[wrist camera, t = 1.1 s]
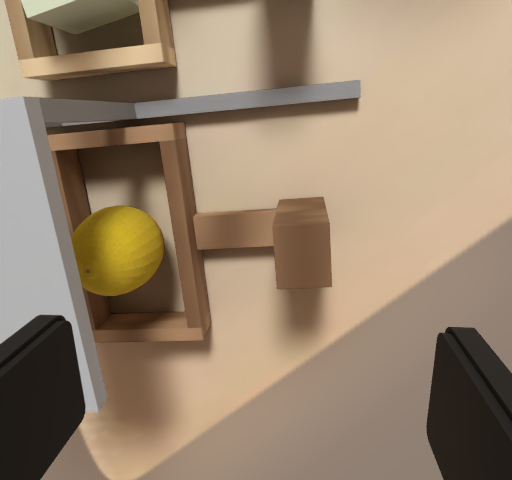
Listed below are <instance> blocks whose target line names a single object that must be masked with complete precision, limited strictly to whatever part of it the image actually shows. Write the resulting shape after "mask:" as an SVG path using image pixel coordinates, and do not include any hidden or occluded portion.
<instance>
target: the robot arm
mask: <svg viewBox="0 0 512 480" xmlns="http://www.w3.org/2000/svg"><path fill="white" fill-rule="evenodd" d="M85 409H86V406H85V400H84V394H83V388H82V382H81V376H80V370H79V365H78V359H77V353H76V347H75V341H74V335H73V330H72V325H71V323H70V322H69V321H66V319H65V317H64V316H62V315H38V316H36V317H35V318H34V319H32V320H31V321H30V322H28V323H27V324H26V325H24V326H23V327H22V328H21V329H19V330H18V331H17V332H15V333H14V334H13V335H11V336H10V337H9V338H7V339H6V340H5V341H4V342H2V343H1V344H0V480H40V479H41V478H42V476H43V475H44V474H45V472H46V471H47V469H48V468H49V466H50V465H51V464H52V462H53V461H54V460H55V458H56V457H57V455H58V454H59V452H60V451H61V450H62V448H63V447H64V445H65V444H66V443H67V441H68V440H69V438H70V437H71V436H72V434H73V433H74V431H75V430H76V428H77V427H78V426H79V424H80V423H81V422H82V420H83V418H84V415H85ZM427 436H428V440H429V443H430V446H431V448H432V451H433V454H434V456H435V459H436V461H437V464H438V466H439V469H440V471H441V474H442V477H443V479H444V480H512V373H511V372H510V371H509V370H508V368H507V367H506V366H505V365H504V363H503V362H502V361H501V360H500V359H499V357H498V356H497V355H496V354H495V352H494V351H493V350H492V349H491V348H490V346H489V345H488V344H487V343H486V341H485V340H484V339H483V338H482V336H481V335H480V334H479V333H478V332H477V330H476V329H475V328H463V327H448V328H447V329H446V331H445V333H439V334H438V337H437V343H436V351H435V360H434V368H433V377H432V384H431V393H430V401H429V409H428V418H427Z"/></svg>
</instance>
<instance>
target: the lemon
mask: <svg viewBox="0 0 512 480" xmlns="http://www.w3.org/2000/svg"><path fill="white" fill-rule="evenodd" d="M71 241H72V245H73V250H74V254H75V258H76V263H77V267H78V271H79V276H80V280H81V284H82V287H83V288H85V289H86V290H88V291H90V292H92V293H95V294H99V295H103V296H117V295H121V294H125V293H128V292H131V291H133V290H135V289H137V288H138V287H140V286H142V285H143V284H145V283H146V282H147V281H148V280H149V279H150V278H151V277H152V276H153V275H154V274H155V272H156V271H157V269H158V267H159V265H160V263H161V261H162V258H163V253H164V238H163V235H162V232H161V229H160V228H159V226H158V224H157V223H156V221H155V220H154V219H153V218H152V217H151V216H150V215H148V214H147V213H145V212H143V211H142V210H139V209H137V208H134V207H129V206H114V207H108V208H104V209H102V210H100V211H97V212H95V213H93V214H91V215H90V216H89V217H87V218H86V219H85V220H84V221H83V222H82V223H81V224H80V225H79V226H78V227H77V228H76V230H75V232H74V233H73V235H72V236H71Z"/></svg>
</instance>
